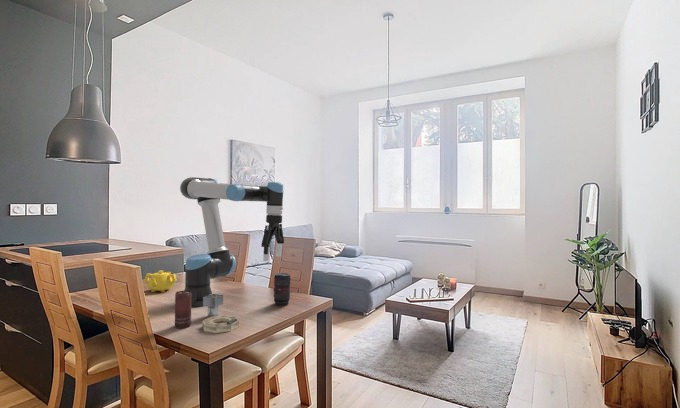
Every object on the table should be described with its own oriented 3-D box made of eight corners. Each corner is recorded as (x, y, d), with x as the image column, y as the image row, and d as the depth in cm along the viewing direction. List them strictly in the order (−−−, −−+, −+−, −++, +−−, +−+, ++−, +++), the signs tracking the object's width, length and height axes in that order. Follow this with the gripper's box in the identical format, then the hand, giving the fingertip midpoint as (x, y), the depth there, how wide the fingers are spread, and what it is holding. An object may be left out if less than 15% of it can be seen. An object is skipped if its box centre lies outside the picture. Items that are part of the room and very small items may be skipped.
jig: (195, 330, 143) (196, 322, 143) (216, 319, 156) (216, 312, 156) (225, 334, 139) (225, 326, 139) (244, 323, 152) (244, 315, 152)
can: (177, 323, 150) (177, 289, 150) (192, 323, 150) (193, 289, 150) (171, 328, 144) (172, 293, 143) (188, 328, 144) (188, 293, 144)
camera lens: (286, 307, 176) (287, 276, 176) (271, 305, 178) (271, 275, 178) (292, 302, 184) (292, 273, 184) (277, 301, 186) (277, 272, 186)
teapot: (167, 295, 191) (167, 274, 191) (134, 294, 192) (134, 273, 191) (184, 286, 211) (184, 267, 211) (154, 286, 212) (154, 267, 211)
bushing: (202, 317, 158) (203, 297, 158) (211, 313, 164) (211, 293, 164) (214, 319, 156) (215, 298, 156) (222, 314, 162) (223, 295, 162)
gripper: (270, 216, 159) (268, 263, 160) (291, 214, 183) (289, 255, 184) (254, 215, 161) (252, 262, 161) (277, 213, 185) (276, 254, 186)
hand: (272, 258), depth 173 cm, fingers open, 13 cm apart
